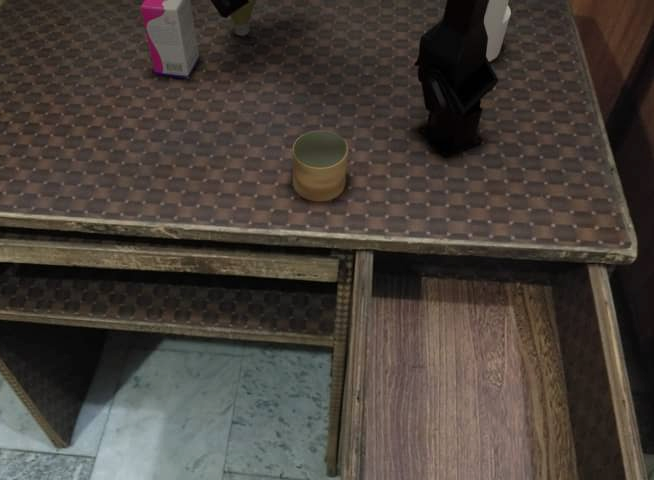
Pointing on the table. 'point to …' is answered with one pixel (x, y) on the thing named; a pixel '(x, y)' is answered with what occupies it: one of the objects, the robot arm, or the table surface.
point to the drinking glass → (496, 26)
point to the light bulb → (243, 18)
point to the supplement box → (171, 36)
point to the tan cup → (319, 165)
